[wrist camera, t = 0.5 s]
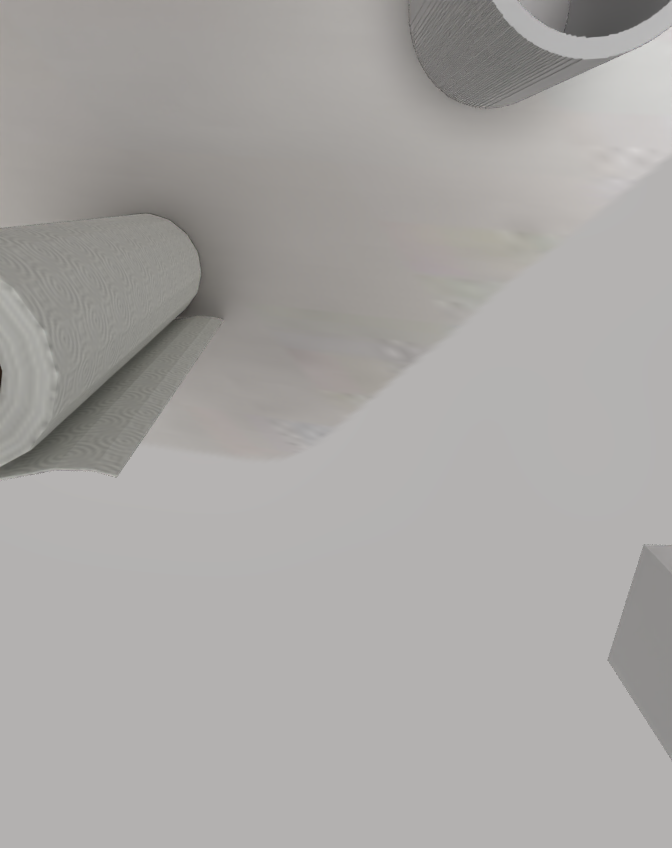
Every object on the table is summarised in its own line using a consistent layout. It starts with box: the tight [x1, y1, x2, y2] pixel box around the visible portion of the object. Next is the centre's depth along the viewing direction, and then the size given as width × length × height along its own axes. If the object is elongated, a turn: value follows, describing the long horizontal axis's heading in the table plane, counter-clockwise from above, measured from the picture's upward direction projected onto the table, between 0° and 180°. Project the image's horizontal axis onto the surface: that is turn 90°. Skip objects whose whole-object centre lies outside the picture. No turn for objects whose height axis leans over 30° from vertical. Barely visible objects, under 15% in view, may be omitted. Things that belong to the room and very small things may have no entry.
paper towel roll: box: [0, 213, 223, 481], centre depth 24 cm, size 7×6×21 cm
